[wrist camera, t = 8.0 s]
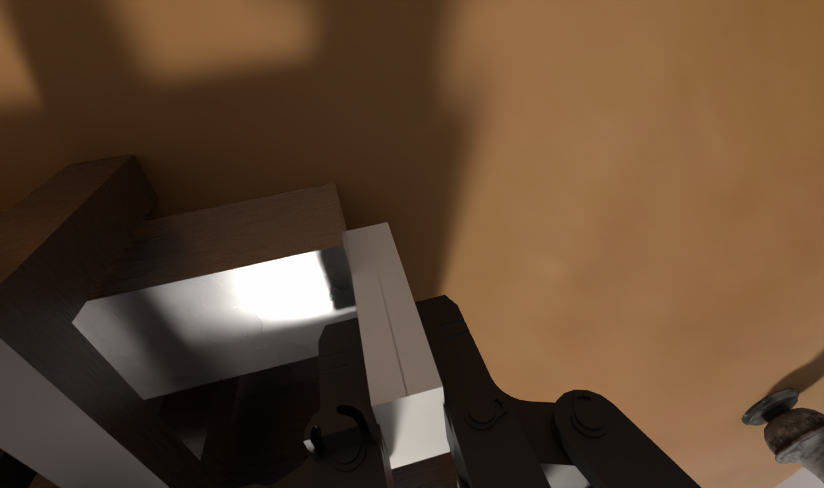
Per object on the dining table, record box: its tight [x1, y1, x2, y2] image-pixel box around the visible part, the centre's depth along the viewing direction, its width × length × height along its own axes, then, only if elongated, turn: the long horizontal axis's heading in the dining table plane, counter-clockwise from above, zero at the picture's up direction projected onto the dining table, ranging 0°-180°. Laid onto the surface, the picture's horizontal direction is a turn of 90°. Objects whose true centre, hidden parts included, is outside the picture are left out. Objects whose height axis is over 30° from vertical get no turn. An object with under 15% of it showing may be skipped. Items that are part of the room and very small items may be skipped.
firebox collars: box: [0, 154, 239, 488], centre depth 10 cm, size 9×8×7 cm
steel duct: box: [72, 183, 358, 400], centre depth 12 cm, size 14×4×4 cm, turn 96°
